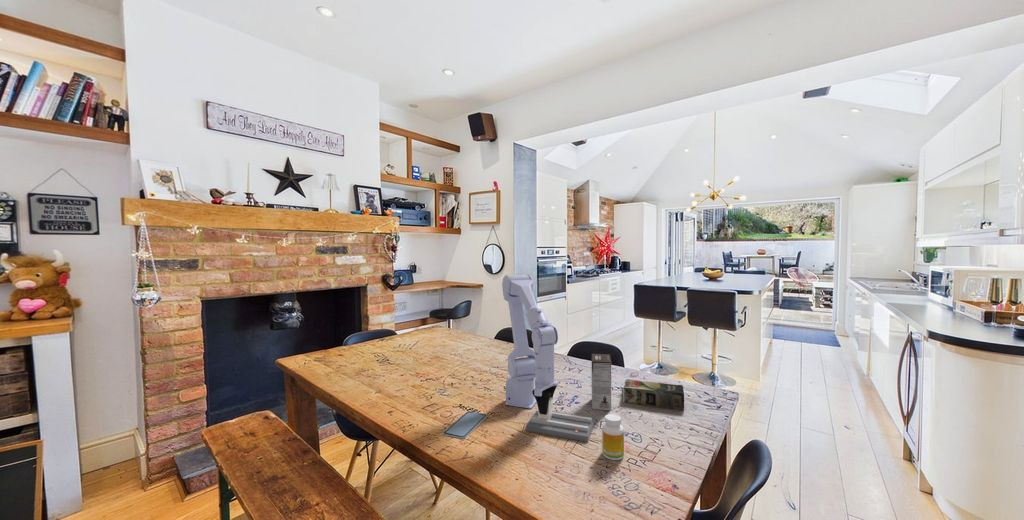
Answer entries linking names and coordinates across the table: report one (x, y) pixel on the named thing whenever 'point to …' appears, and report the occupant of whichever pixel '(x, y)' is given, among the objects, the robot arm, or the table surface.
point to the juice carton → (654, 394)
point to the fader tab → (549, 412)
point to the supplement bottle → (613, 437)
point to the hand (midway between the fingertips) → (545, 411)
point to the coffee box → (601, 381)
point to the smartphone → (465, 425)
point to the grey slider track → (563, 425)
